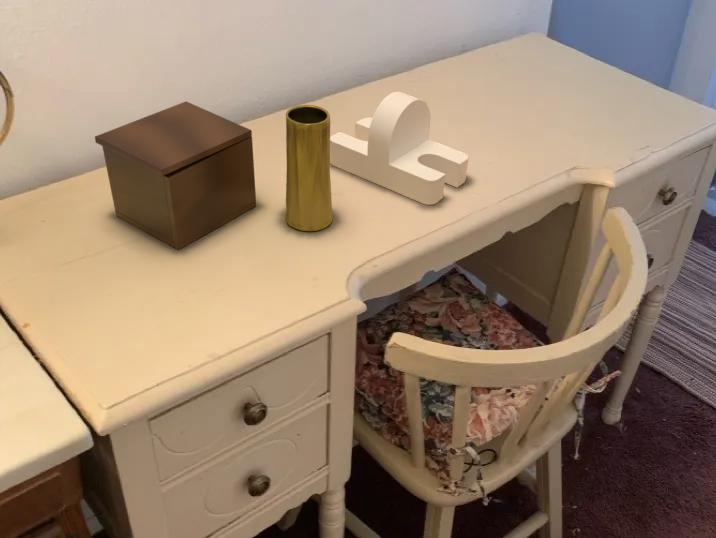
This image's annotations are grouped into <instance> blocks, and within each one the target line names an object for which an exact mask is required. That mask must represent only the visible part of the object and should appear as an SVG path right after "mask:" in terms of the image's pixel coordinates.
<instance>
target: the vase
mask: <svg viewBox="0 0 716 538" xmlns="http://www.w3.org/2000/svg"><path fill="white" fill-rule="evenodd" d="M285 128H286V129H285V130H286V131H285V141H286V142H285V143H286V145H285V147H286V149H285V150H286V176H285V177H286V183H285V185H286V186H285V216H284V218H285V222H286V223H287V224H288V225H289V226H290V227H291V228H293V229H295V230H298V231H302V232H316V231H321V230H323V229H325V228H327V227H328V226H330V225H331V224H332V222H333V219H334V218H333V204H332V203H333V202H332V201H333V200H332V185H331V181H332V180H331V164H330V137H331V114H330V112H329V111H328V110H327V109H326V108H324V107H321V106H318V105H314V104H301V105H295V106H293V107H291V108H289V109H288V110H287V111H286V112H285Z"/></svg>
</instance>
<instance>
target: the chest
mask: <svg viewBox="0 0 716 538" xmlns="http://www.w3.org/2000/svg"><path fill="white" fill-rule="evenodd" d="M101 147H102V151H103V158H104V161H105V168H106V173H107V177H108V182H109V188H110V193H111V196H112V198H111V199H112V202H113V207H114V212H115V216H117V217H119V218H120V219H122V220H123V221H126V222H127V223H129V224H131V225H133V226H134V227H137V228H138V229H140V230H142V231H143V232H145V233H148V234H149V235H151V236H153V237H154V238H156V239H158V240H160V241H162V242H163V243H165V244H167V245H170V246H171V247H172V248H174V249H176V250H181V249H183V248H185V247H186V246H188V245H190V244H192V243H193V242H196V241H197V240H199V239H201V238H202V237H204V236H206V235H208V234H209V233H211V232H213V231H215V230H216V229H218V228H220V227H222V226H223V225H225V224H227V223H229V222H231V221H233V220H234V219H236V218H238V217H239V216H241V215H243V214H245V213H246V212H248V211H250V210H251V209H253V208H255V207H256V206H257V194H256V193H257V192H256V179H255V163H254V161H255V160H254V146H253V135H252V136H251V137H249V138H246V139H244V140H242V141H240V142H237V143H235V144H233V145H231V146H228V147H226V148H224V149H222V150H220V151H217V152H215V153H213V154H211V155H208V156H206V157H204V158H202V159H200V160H197V161H195V162H193V163H191V164H188V165H186V166H184V167H182V168H179V169H177V170H175V171H173V172H171V173H168V174H166V175H164V176H161V175H159V174H157V173H155V172H153V171H151V170H149V169H147V168H145V167H143V166H141V165H139V164H137V163H135V162H133V161H131V160H129V159H127V158H125V157H123V156H121V155H119V154H117V153H115V152H113V151H111V150H109V149H107V148H105V147H103V146H101Z"/></svg>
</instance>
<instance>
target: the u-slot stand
mask: <svg viewBox="0 0 716 538" xmlns="http://www.w3.org/2000/svg"><path fill="white" fill-rule="evenodd" d="M430 128H431V111H430V107H429V105H428V103H427V102H426V101H425V100H423V99H421V98H419V97H417V96H416V97H415V96H414V95H413V96H412V95H410V94H408V93H404V92H402V91H393V92H391V93H389V94H388V95H387V96H385V97H384V98H383V100H382V101H381V102H380V103H379V105H378V106H377V108H376V110H375V111H374V114H373V116H372V117H371V116H369V117H363V118H361V119H360V120H358V121H356V122H355V123H354V136H351V135H349V134H347V133H344V132H342V131H338V132H336V133H334V134H333V135H330V166H333V167H336V168H338V169H340V170H343V171H345V172H347V173H350V174H351V175H355V176H357V177H359V178H361V179H364V180H366V181H369V182H371V183H374V184H376V185H378V186H380V187H382V188H385V189H388V190H389V191H392V192H395V193H396V194H400V195H401V196H404V197H407V198H409V199H412V200H413V201H416V202H418V203H421V204H422V205H428V206H432V205H435V204H437V203H439V201H441V200H442V199H444V190H445V184H447V185H449V186H452V187H455V188H459V187H460V186H462V185H463V184H465V182H466V180H467V172H468V163H469V157H470V156H469V155H468V154H467V153H465V152H464V151H460V150H457V149H455V148H453V147H450V146H447V145H445V144H442V143H439V142H437V141H434V140H433V139H430V132H431V131H430V130H431V129H430Z"/></svg>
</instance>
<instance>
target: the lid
mask: <svg viewBox="0 0 716 538" xmlns="http://www.w3.org/2000/svg"><path fill="white" fill-rule="evenodd" d="M251 136H252V137H253V132H252V129H250V128H248V127H246V126H244V125H241V124H239V123H237V122H235V121H232V120H230V119H227V118H226V117H222V116H221V115H218V114H216V113H214V112H211V111H209V110H207V109H204V108H202V107H201V106H198V105H195V104H193V103H191V102H189V101H186V100H185V101H183V102H180V103H178V104H175V105H173V106H170V107H167V108H165V109H162V110H160V111H156V112H155V113H152V114H150V115H147V116H145V117H142V118H139V119H137V120H134V121H132V122H129V123H126V124H124V125H121V126H119V127H115V128H113V129H110V130H108V131H105V132H103V133H100V134H97V135H95V136H94V141H95V143H96V144H98V145H100V146H101V147H102V146H103V147H105V148H107V149H109V150H111V151H113V152H115V153H117V154H119V155H121V156H123V157H125V158H127V159H129V160H131V161H133V162H135V163H137V164H139V165H141V166H143V167H145V168H147V169H149V170H151V171H153V172H155V173H157V174H159V175H161V176H164V175H166V174H168V173H171V172H173V171H175V170H177V169H179V168H182V167H184V166H186V165H188V164H191V163H193V162H195V161H197V160H200V159H202V158H204V157H206V156H208V155H211V154H213V153H215V152H217V151H220V150H222V149H224V148H226V147H228V146H231V145H233V144H235V143H237V142H240V141H242V140H244V139H246V138H249V137H251ZM103 147H102V148H103Z"/></svg>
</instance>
